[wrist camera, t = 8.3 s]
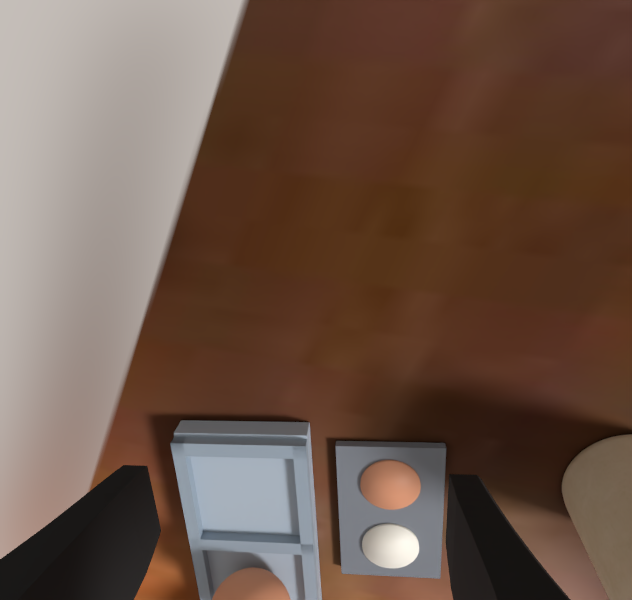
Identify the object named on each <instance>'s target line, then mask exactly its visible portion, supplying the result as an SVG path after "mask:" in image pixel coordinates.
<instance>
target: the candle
mask: <svg viewBox="0 0 632 600" xmlns="http://www.w3.org/2000/svg"><path fill="white" fill-rule="evenodd" d="M562 494H563V499H564V503H565V505H566V508H567V510H568V512H569V515H570V517H571V519H572V521H573V524H574V526H575V528H576V530H577V532H578V534H579V536H580V539H581V541H582V543H583V545H584V547H585V549H586V551H587V553H588V555H589V558H590V560H591V562H592V564H593V566H594V568H595V570H596V572H597V575H598V577H599V579H600V581H601V583H602V585H603V587H604V589H605V592H606V594H607V596H608V598H609V600H632V434H628V435H619V436H614V437H610V438H607V439H603V440H601V441H598V442H596V443H594V444H592V445H590V446H589V447H587V448H586V449H584V450H583V451H581V452H580V453H579V454H578V455H577V456H576V457H575V458H574V459H573V460H572V461H571V463H570V464H569V466H568V467H567V469H566V471H565V473H564V476H563V480H562Z"/></svg>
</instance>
